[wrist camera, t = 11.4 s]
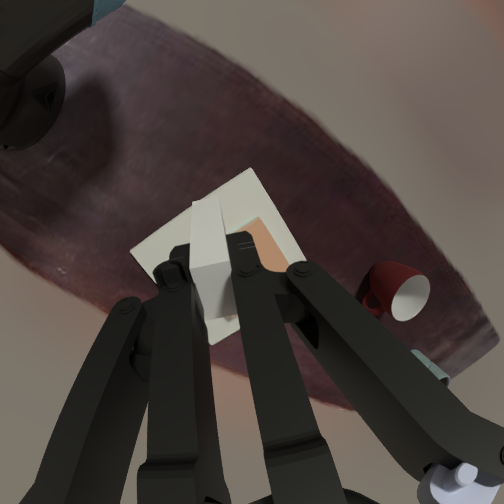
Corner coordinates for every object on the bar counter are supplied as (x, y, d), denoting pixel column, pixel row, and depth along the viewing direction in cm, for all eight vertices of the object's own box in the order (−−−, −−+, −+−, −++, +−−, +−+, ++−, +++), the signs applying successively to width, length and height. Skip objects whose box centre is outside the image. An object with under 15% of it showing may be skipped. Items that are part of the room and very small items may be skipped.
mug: (364, 310, 51) (393, 340, 41) (340, 288, 48) (370, 319, 38) (402, 267, 49) (436, 291, 40) (381, 241, 46) (418, 263, 37)
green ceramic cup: (392, 356, 58) (421, 390, 47) (425, 340, 59) (455, 369, 48) (388, 384, 61) (412, 416, 50) (419, 368, 62) (444, 396, 51)
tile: (190, 266, 38) (261, 219, 38) (191, 259, 40) (257, 215, 40) (232, 317, 42) (296, 276, 42) (230, 309, 44) (291, 269, 44)
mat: (130, 250, 39) (129, 251, 38) (250, 167, 38) (251, 167, 38) (211, 343, 47) (211, 345, 46) (315, 277, 46) (317, 279, 45)
